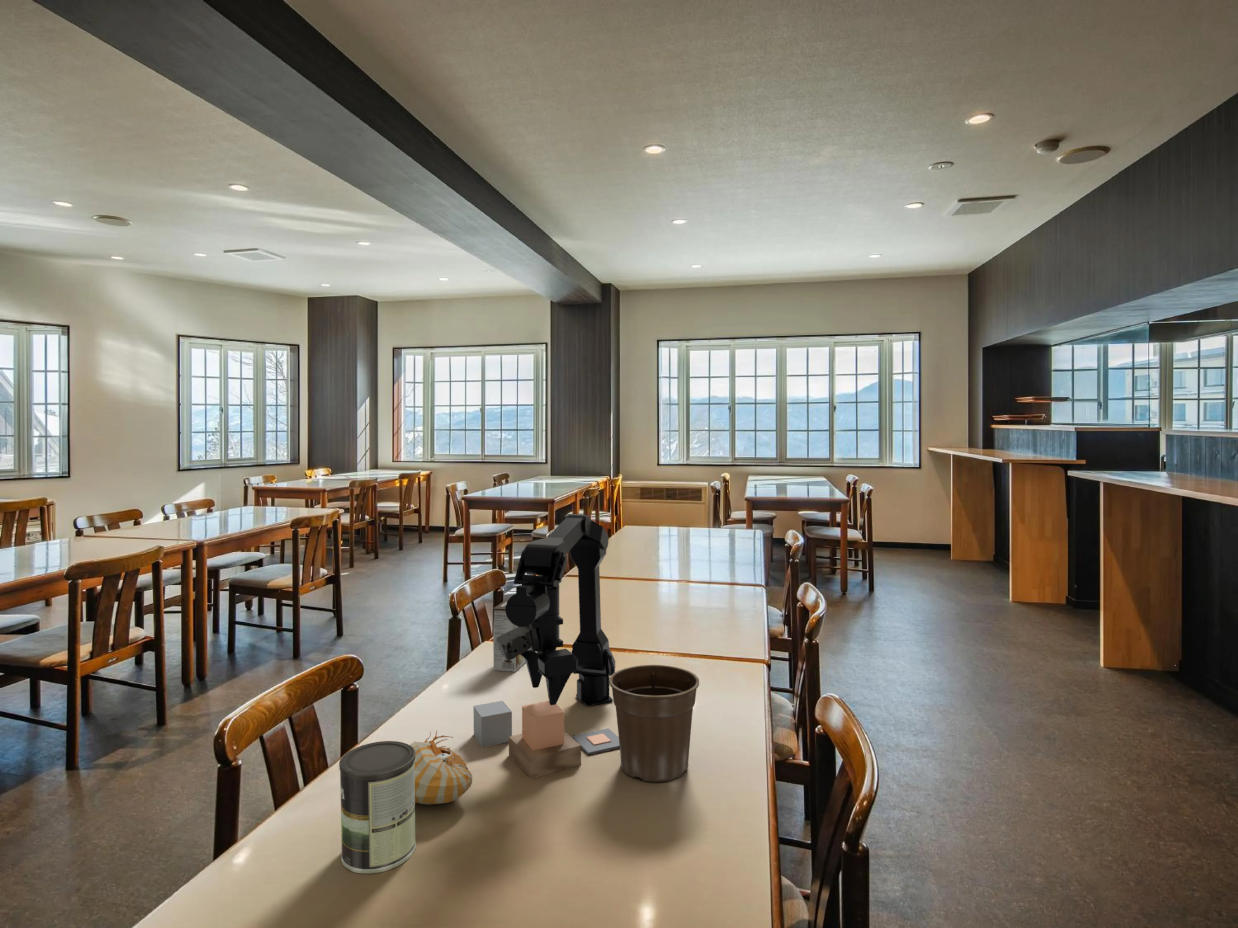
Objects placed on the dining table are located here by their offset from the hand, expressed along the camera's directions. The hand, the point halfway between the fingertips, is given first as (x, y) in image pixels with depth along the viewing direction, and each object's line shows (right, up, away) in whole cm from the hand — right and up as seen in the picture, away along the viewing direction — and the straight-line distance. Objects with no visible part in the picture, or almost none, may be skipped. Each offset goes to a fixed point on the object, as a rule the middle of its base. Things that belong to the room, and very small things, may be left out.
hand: (543, 695), depth 128 cm
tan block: (0, -12, 0) cm, 12 cm away
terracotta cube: (0, -8, 0) cm, 8 cm away
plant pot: (+20, -12, -2) cm, 24 cm away
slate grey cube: (-11, -12, +9) cm, 19 cm away
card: (+10, -12, +8) cm, 17 cm away
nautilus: (-17, -13, -10) cm, 24 cm away
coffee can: (-21, -14, -28) cm, 37 cm away
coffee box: (-14, -10, +51) cm, 54 cm away
